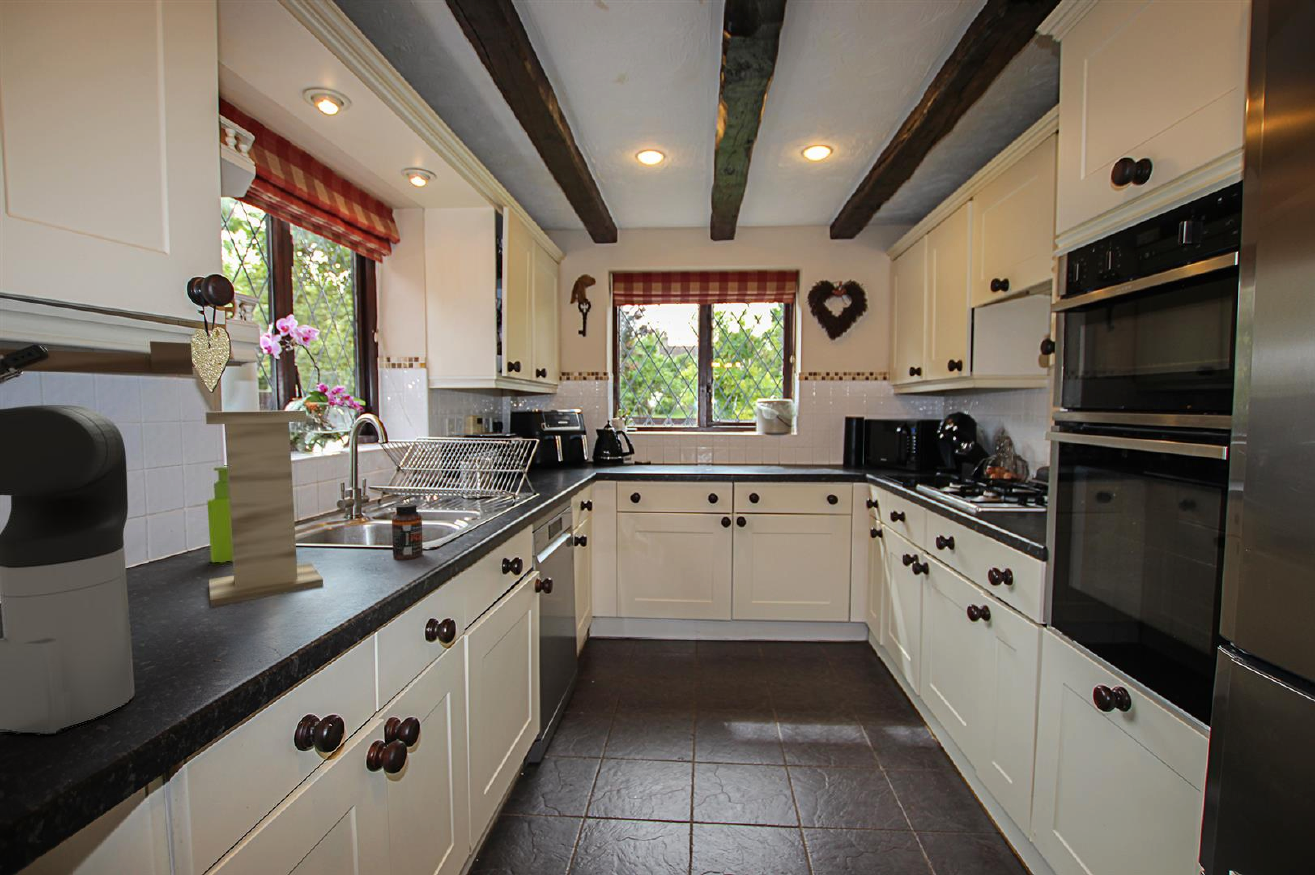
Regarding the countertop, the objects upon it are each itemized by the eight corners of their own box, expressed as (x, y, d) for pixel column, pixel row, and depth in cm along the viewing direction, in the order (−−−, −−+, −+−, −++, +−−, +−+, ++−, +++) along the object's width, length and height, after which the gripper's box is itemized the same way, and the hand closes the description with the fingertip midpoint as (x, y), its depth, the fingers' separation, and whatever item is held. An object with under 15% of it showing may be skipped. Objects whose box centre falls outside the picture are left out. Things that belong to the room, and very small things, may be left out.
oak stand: (323, 585, 101) (314, 410, 99) (210, 607, 90) (198, 412, 88) (311, 568, 111) (302, 410, 109) (209, 585, 101) (198, 411, 99)
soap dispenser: (226, 564, 115) (220, 469, 113) (204, 561, 117) (198, 468, 116) (255, 556, 120) (249, 465, 119) (234, 553, 123) (228, 464, 121)
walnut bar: (192, 373, 91) (190, 343, 91) (-13, 369, 77) (-16, 333, 77) (193, 374, 95) (191, 345, 95) (-3, 371, 81) (-6, 336, 80)
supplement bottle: (415, 560, 116) (413, 507, 116) (387, 560, 116) (385, 507, 116) (427, 552, 122) (425, 502, 121) (401, 552, 122) (399, 502, 122)
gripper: (-169, 384, 66) (13, 322, 75) (-118, 387, 77) (36, 333, 86) (-112, 436, 69) (57, 371, 78) (-70, 432, 80) (74, 375, 89)
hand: (45, 351), depth 82 cm, fingers closed on walnut bar, 3 cm apart
